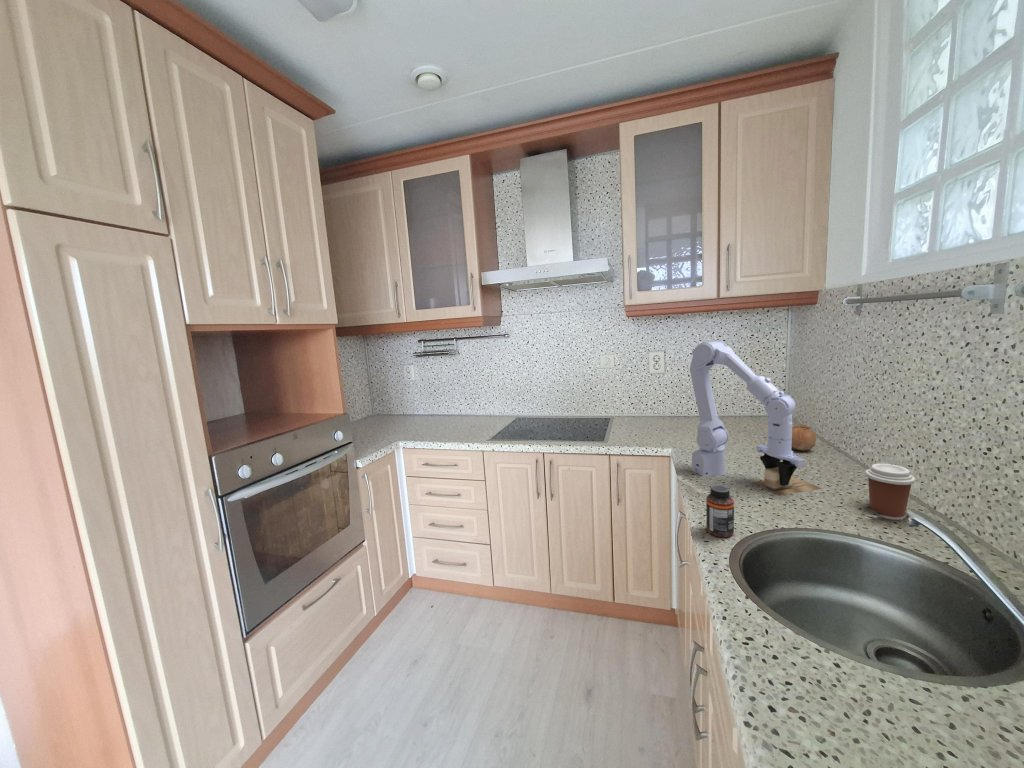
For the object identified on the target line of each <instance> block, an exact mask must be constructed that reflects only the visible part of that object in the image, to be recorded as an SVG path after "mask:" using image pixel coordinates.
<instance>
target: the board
mask: <svg viewBox="0 0 1024 768" xmlns="http://www.w3.org/2000/svg"><path fill="white" fill-rule="evenodd" d="M752 483H754V484H756V485H758V486H760V487H762V488H764V489H766V490H768V491H770V492H772V493H775V494H777V495H779V496H783V495H791V494H798V493H804V492H809V491H810V492H811V491H816V490H822V489H823V487H819V486H817V485H815V484H812V483H810V482H807V481H806V480H802V479H801V478H797V477H795V476H793V483H792V487H791V488H784V489H778V490H773V489H771V488H769V487H767V486H765V485H764V479H763V480H758V481H753V482H752Z"/></svg>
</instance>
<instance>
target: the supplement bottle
mask: <svg viewBox="0 0 1024 768" xmlns="http://www.w3.org/2000/svg"><path fill="white" fill-rule="evenodd" d="M709 492H710V493H708V494H707V495H706V502H705V505H706V507H705V508H706V512H705V513H706V516H705V518H706V520H705V521H706V523H705V524H706V531H707V532H708V533H709V534H711V535H713V536H715V537H718V538H723V539H724V538H729V537H732V536H733V535H734V532H735V501H734V498H733V497H732V496H730V488H729V487H727V486H725V485H718V484H715V485H711V487H710V491H709Z"/></svg>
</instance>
